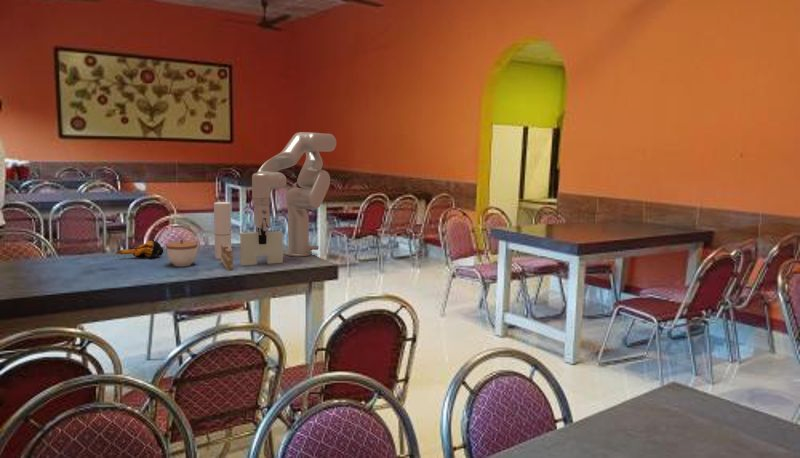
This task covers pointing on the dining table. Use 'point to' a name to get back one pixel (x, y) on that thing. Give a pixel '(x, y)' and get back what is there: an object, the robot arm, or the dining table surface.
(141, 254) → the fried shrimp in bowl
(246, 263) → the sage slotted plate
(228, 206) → the cylindrical container
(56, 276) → the dining table surface
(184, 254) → the lidded bowl
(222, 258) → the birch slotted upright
